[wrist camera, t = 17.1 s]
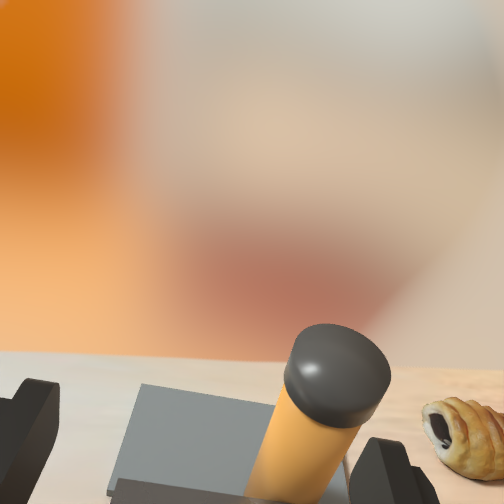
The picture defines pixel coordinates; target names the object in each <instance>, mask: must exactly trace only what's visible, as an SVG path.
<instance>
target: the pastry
mask: <svg viewBox="0 0 504 504" xmlns="http://www.w3.org/2000/svg"><path fill="white" fill-rule="evenodd" d="M422 417H423V419H422V421H423V428H424V431H425V433H426V434H427V436H428V437H429V439H430V441H431V442H432V443H433V445H434V448H435V451H436V453H437V456H438V458H439V459H440V460H441V461H442V462H443V463H444V464H446V465H447V466H449V467H450V468H451V469H452V470H453V471H455V472H456V473H458V474H460V475H462V476H464V477H467V478H469V479H482V480H484V481H489V480H498V479H504V414H503V413H497V412H495V411H494V410H493V409H492V408H491V407H489V406H481V405H480V404H479V403H478V402H476V401H474V400H469V401H466V402H463V401H462V400H460V399H458V398H457V397H450V398H447V399H445V400H444V401H437V402H433V403H430V404H426V405H424V407H423V409H422Z"/></svg>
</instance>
